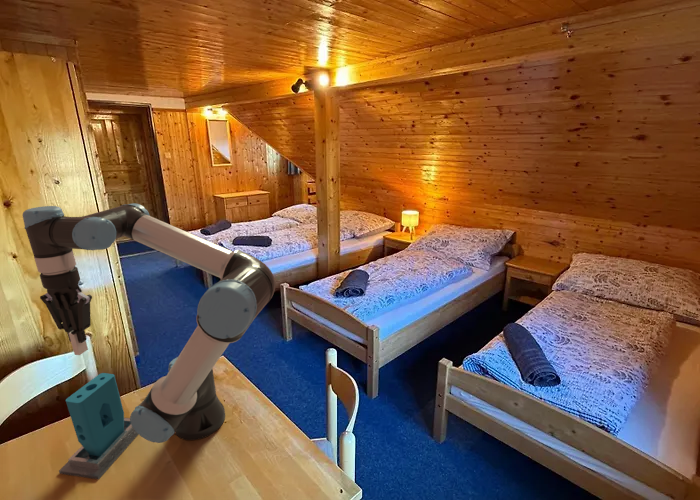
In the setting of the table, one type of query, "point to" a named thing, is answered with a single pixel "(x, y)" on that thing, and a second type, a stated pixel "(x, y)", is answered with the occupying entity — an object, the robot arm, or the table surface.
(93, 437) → the block
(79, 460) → the grey rectangular tray
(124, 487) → the table surface
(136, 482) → the table surface
